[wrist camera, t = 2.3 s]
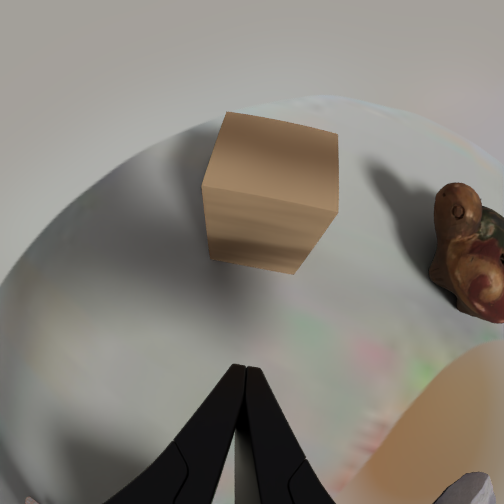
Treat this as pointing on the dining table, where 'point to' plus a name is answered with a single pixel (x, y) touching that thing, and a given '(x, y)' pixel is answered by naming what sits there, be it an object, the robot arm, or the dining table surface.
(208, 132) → the dining table surface
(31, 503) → the toy brick tower
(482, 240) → the decorative turtle
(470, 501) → the stone block
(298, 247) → the walnut block
